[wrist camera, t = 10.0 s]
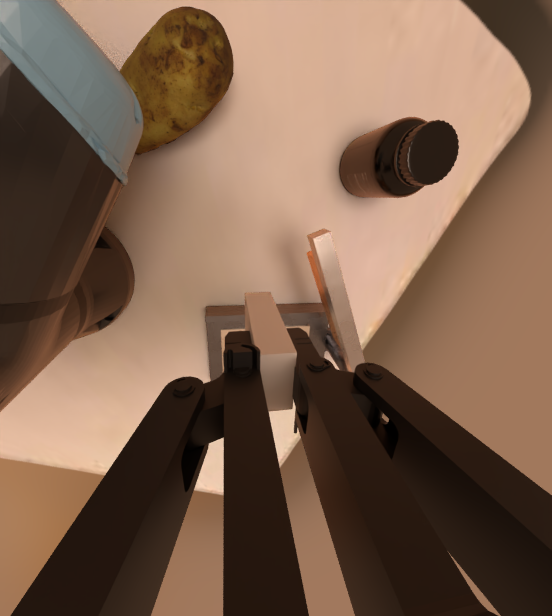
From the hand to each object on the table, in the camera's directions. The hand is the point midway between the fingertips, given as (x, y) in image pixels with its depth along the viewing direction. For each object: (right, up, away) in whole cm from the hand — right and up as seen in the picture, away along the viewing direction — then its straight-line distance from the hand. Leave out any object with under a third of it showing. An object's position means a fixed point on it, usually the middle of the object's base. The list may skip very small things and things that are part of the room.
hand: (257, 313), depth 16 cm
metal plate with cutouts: (0, -5, +24) cm, 25 cm away
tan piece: (+7, +2, +16) cm, 18 cm away
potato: (-10, +21, +11) cm, 26 cm away
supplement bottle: (+12, +18, +17) cm, 27 cm away
